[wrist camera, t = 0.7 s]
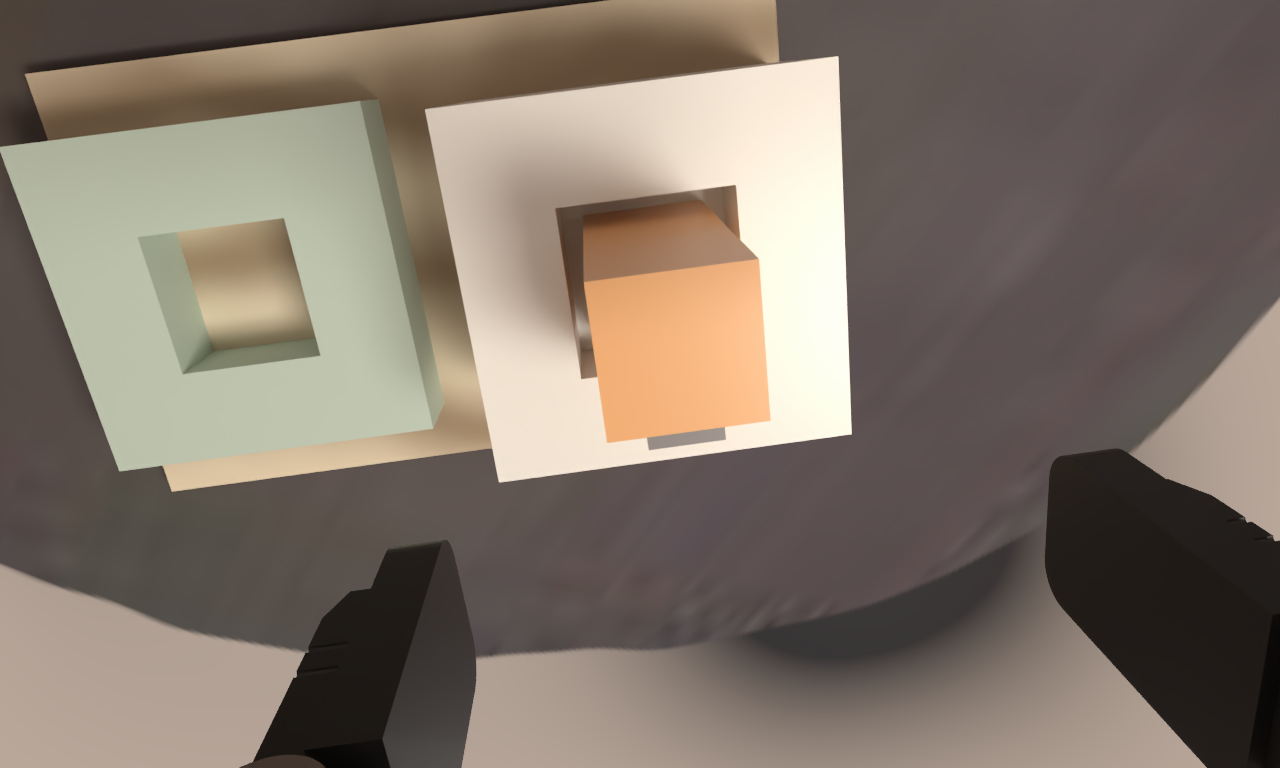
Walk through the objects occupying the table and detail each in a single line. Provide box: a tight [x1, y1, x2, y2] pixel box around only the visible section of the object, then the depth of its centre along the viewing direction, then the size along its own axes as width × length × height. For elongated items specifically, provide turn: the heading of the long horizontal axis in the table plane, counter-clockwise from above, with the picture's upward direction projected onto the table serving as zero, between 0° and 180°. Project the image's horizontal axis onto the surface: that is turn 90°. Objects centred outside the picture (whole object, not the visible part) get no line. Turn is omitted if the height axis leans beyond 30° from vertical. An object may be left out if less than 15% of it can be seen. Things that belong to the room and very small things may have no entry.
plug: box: [583, 200, 771, 450], centre depth 24 cm, size 5×4×10 cm
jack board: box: [25, 0, 779, 492], centre depth 36 cm, size 18×29×1 cm, turn 97°
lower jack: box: [0, 99, 444, 471], centre depth 34 cm, size 13×13×3 cm
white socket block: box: [425, 56, 851, 482], centre depth 31 cm, size 12×12×10 cm
